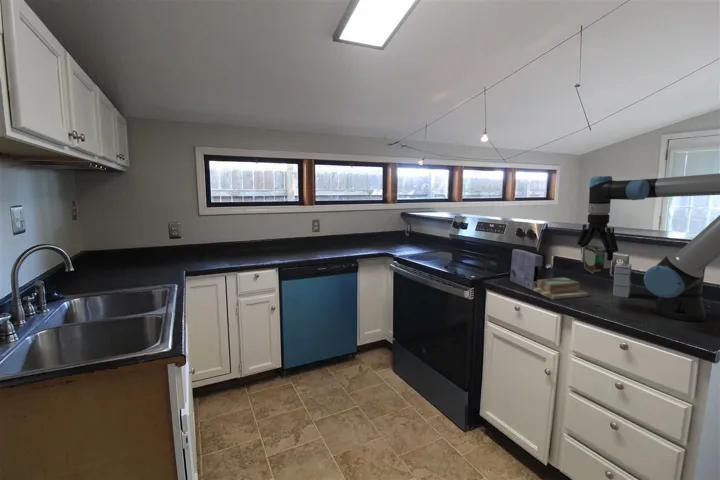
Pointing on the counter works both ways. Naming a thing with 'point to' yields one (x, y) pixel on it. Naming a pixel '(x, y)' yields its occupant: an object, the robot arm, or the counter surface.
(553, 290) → the base
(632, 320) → the counter surface
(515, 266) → the cake pan box
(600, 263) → the food container
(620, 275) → the syrup box
